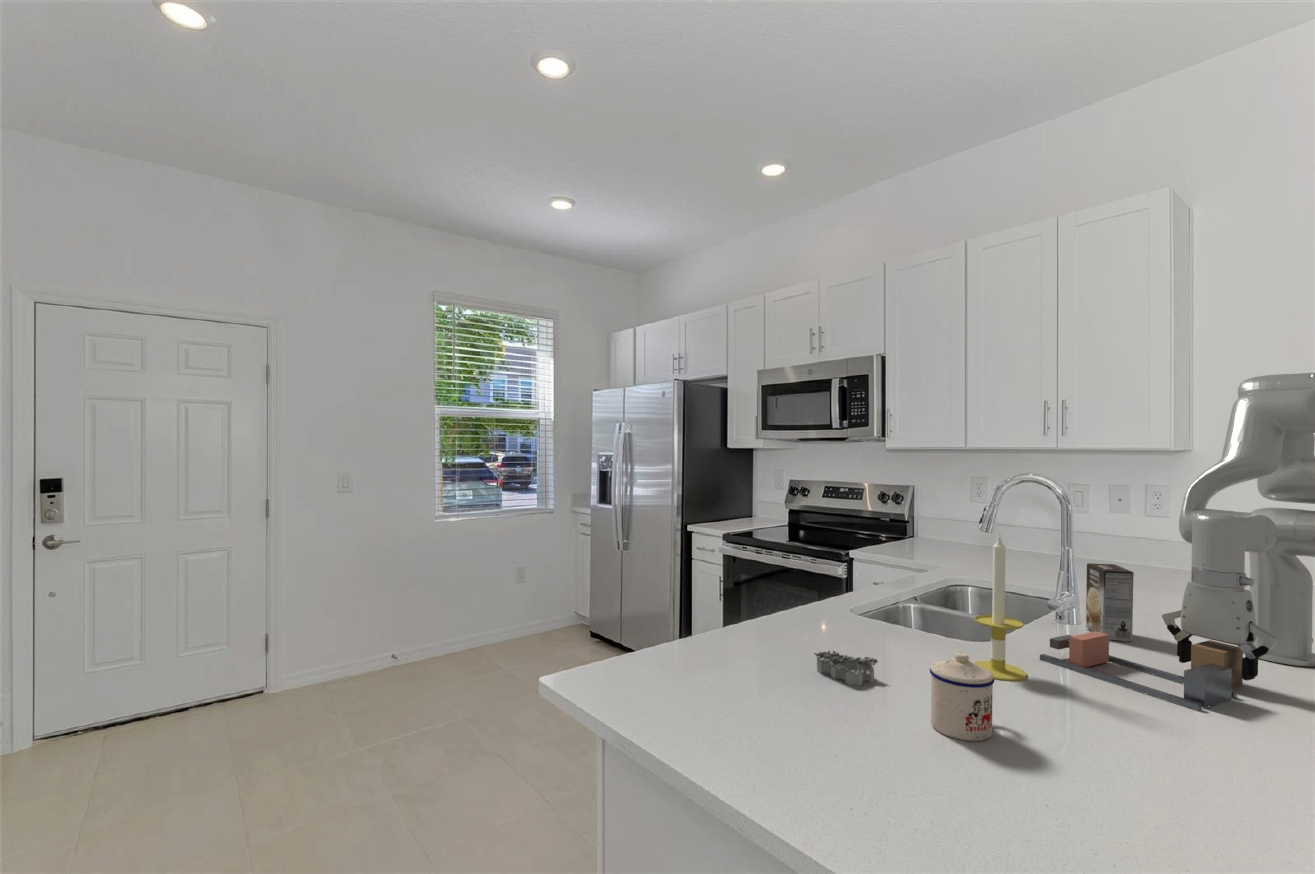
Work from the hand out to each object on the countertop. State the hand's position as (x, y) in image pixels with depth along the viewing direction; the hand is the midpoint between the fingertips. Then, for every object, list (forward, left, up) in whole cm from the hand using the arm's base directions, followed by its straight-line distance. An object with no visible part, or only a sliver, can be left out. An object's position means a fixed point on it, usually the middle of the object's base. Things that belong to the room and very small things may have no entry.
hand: (1215, 670), depth 119 cm
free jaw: (+12, -18, -2) cm, 22 cm away
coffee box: (-13, -26, -3) cm, 29 cm away
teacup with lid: (+60, -7, -3) cm, 60 cm away
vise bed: (+12, -8, -2) cm, 15 cm away
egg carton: (+62, -32, -3) cm, 70 cm away
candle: (+33, -21, -3) cm, 39 cm away
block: (0, 0, -3) cm, 3 cm away
